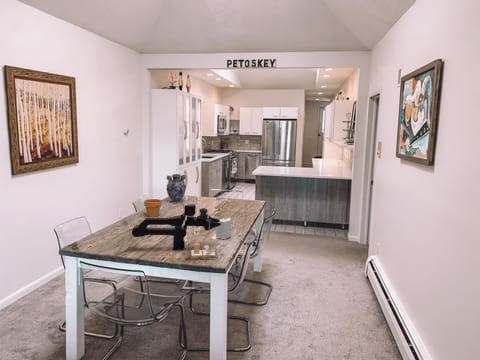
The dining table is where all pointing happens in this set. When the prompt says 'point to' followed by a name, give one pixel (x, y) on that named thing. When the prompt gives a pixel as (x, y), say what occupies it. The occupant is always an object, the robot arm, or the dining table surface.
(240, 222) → the dining table surface
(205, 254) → the ticket board
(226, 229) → the supplement box
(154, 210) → the flower pot
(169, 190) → the decorative vase
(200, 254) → the stub
